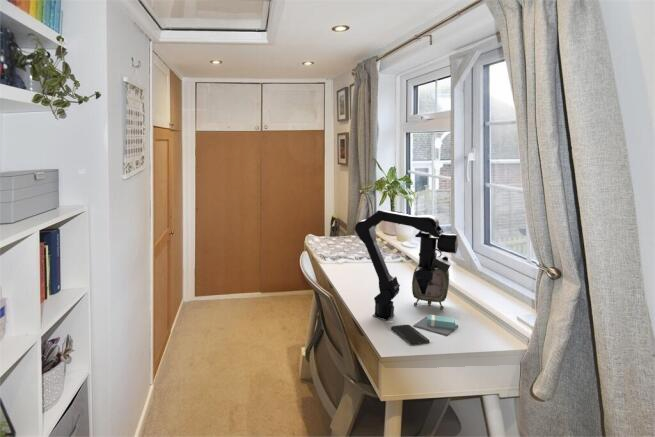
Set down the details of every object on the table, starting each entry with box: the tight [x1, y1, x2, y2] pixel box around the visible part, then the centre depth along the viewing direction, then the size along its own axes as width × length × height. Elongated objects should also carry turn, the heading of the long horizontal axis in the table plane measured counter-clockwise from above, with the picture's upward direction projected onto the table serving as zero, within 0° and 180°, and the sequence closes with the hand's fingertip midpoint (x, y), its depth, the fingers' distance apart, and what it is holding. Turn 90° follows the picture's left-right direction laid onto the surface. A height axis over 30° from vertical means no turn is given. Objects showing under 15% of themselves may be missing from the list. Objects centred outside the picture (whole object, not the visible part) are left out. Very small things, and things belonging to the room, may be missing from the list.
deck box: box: [427, 314, 456, 330], centre depth 170 cm, size 2×5×10 cm
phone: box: [390, 324, 430, 346], centre depth 161 cm, size 8×1×15 cm
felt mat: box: [413, 316, 459, 337], centre depth 170 cm, size 13×11×1 cm
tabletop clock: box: [411, 248, 450, 311], centre depth 189 cm, size 14×9×25 cm, turn 73°
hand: (424, 290), depth 170 cm, fingers open, 9 cm apart
